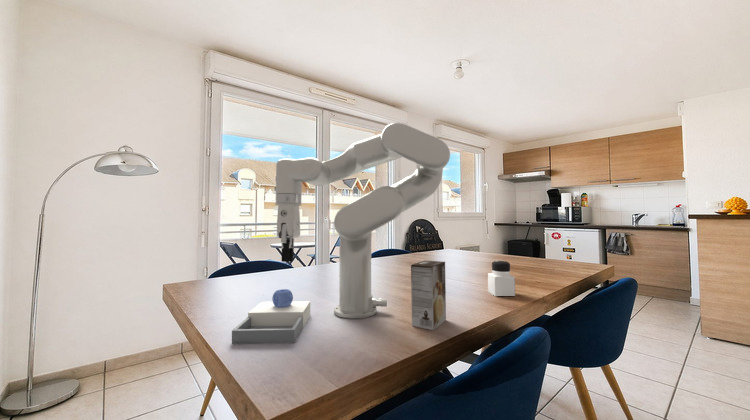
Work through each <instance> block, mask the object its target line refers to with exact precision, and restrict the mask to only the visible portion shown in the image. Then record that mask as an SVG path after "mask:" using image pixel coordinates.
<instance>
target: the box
mask: <svg viewBox="0 0 750 420" xmlns="http://www.w3.org/2000/svg"><path fill="white" fill-rule="evenodd" d="M303 328H304V327H303V316H300V317H299V318H298V320H297V321H296V323H295V324H294V326H251V317H248V316H247V317H246V318H245V319H244V320H242V321H241V322H240V323H238V325H237V326H235V327H234V328H233V329H232V330H231V345H251V344H252V345H259V344H260V345H261V344H267V345H268V344H295V343H296V341H297V339H298V338H299V335H301V333H302V331H303Z"/></svg>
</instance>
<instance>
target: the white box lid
mask: <svg viewBox="0 0 750 420" xmlns="http://www.w3.org/2000/svg"><path fill="white" fill-rule="evenodd" d="M300 316H303V328H304V327H305V325H306V323H307V322H308V320H309V318H310V317H311V300H303V301H302V300H296V301H295V300H293V301H292V303H291V304H290V305H289V306H288V307H282V308H279V307H276V306H275V305H274V304H273V301H261V302H259V303H258V304H257V305H255V307H253V308H252V309H251V310H250V311H249V312H247V317H251V326H294V324H295V323H296V321H297V320H298V318H299V317H300Z"/></svg>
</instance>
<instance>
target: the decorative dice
mask: <svg viewBox="0 0 750 420" xmlns="http://www.w3.org/2000/svg"><path fill="white" fill-rule="evenodd" d="M271 299H272V302H273V304H274V305H275V306H276V307H279V308H282V307H288V306H289V305H290V304H291V303H292V301H294V300H293V299H294V295H293V292H292V291H291V290H290V289H287V288H285V289H283V288H282V289H277V290H275V292H274V293H273V295H272V297H271Z"/></svg>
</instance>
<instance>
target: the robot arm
mask: <svg viewBox="0 0 750 420" xmlns="http://www.w3.org/2000/svg"><path fill="white" fill-rule="evenodd" d="M401 158H403V159H406V160H409V161H411V162H413V163H415V164H416V169H415V171H414V172H413V173H412V174H410V175H409V176H406V177H404V178H403V179H401V180H400V181H397V182H396V183H394V184H392V185H390V186H389V185H383V186H380V187H377V188H375V189H373V190H371V191H370V192H368V193H365V194H364V195H362V196H360V197H359V198H356V199H355V200H353V201H351V202H349V203H347V204H346V205H344V206H342V207H341V208H340V209H339V210H338V211H337V212H336V214H335V216H334V220H333V224H334V229H335V231H336V233H337V234H338V235H339V251H338V252H339V257H338V259H339V261H338V262H339V263H338V264H339V269H338V270H339V271H338V272H339V273H338V276H339V277H338V278H339V281H338V282H339V287H338V288H339V289H338V291H339V304H338V305H336V306H335V307H334V310H333V312H334V315H336V317H339V318H344V319H364V318H369V317H372V316H374V315H375V314H377V312H378V311H377V307H388V301H387V299H383V298H375V297H373V294H372V235H373V234H372V232H374V231H376V230H377V229H379V228H381V227H383V226H385V225H386V224H388V223H390V222H392V221H393V220H395V219H397V218H398V217H399V216H401V214H402V213H404V212H406V211H408V210H409V209H412V207H415V206H416V205H418V204H419V203H421V202H423V201H424V200H426V199H428V198H429V197H430V196H432V195H433V194H435V192H436V191H437V189H438V187H440V184H441V181H442V177H443V171H444V168H445V167H446V166H447V165H448V164H449V161H450V158H451V151H450V148H449V146H448V145H447V144H446V142H444V140H442V139H440V138H438V137H435V136H433V135H432V134H429V133H426V132H424V131H422V130H420V129H417V128H415V127H413V126H410V125H408V124H406V123H405V124H404V123H400V122H392V123H390V124H387V125H386V126H385V127H384V129H383V130H382V132H381V133H380V134H377V135H375V136H371V137H369V138H365V139H363V140H359V141H357V142H353V143H352V144H351V145H350V146H348V148H347V149H346V150H345V151H344V152H343V153H341V154H340V155H338V156H336V157H334V158H331V159H328V160H324V161H321V160H320V159H318V158H315V157H304V158H298V159H297V158H296V159H294V158H281V159H279V160H277V161H276V163H275V164H276V165H275V167H276V168H275V205H276V206H277V216H276V218H277V219H276V237H277V238H278V239H280V243H281V262H283V263H290V262H291V263H292V262H294V260H295V259H294V255H295V254H294V252H295V251H294V250H295V249H294V247H295V239H297V238H299V237H300V236H301V216H300V214H301V213H300V212H301V211H300V206H302V193H303V192H302V191H303V190H302V189H303V187H302V184H303V183H307V184H309V185H310V184H311V185H313V186H316V187H320V186H321V187H322V186H326V185H329V184H332V183H336V182H338V181H342V180H344V179H347V178H349V177H351V176H353V175H356V174H358V173H360V172H362V171H365V170H369V169H371V168H375V167H377V166H380V165H383V164H387V163H388V162H392V161H395V160H398V159H401Z"/></svg>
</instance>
